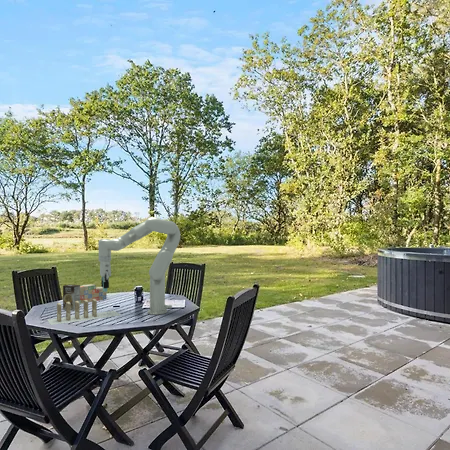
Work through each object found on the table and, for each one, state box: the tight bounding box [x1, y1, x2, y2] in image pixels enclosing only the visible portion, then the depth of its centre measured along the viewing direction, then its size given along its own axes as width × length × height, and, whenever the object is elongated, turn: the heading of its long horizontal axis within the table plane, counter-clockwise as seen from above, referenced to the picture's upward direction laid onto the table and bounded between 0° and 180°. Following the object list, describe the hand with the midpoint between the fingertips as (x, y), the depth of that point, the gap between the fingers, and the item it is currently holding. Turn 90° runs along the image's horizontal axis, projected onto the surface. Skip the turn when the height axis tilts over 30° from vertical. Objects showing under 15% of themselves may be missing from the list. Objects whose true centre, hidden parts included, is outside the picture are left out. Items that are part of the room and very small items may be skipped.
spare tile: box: [103, 276, 108, 292], centre depth 229 cm, size 2×5×10 cm, turn 32°
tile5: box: [65, 302, 72, 321], centre depth 214 cm, size 2×5×10 cm, turn 34°
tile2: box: [91, 299, 98, 317], centre depth 223 cm, size 2×5×10 cm, turn 34°
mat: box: [47, 310, 121, 326], centre depth 220 cm, size 40×14×1 cm, turn 124°
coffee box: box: [62, 284, 81, 311], centre depth 243 cm, size 9×6×16 cm
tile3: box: [83, 300, 89, 318], centre depth 220 cm, size 2×5×10 cm, turn 34°
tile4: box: [74, 301, 81, 319], centre depth 217 cm, size 2×5×10 cm, turn 34°
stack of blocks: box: [80, 283, 108, 305], centre depth 270 cm, size 21×6×12 cm, turn 140°
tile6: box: [56, 302, 62, 322], centre depth 212 cm, size 2×5×10 cm, turn 34°
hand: (105, 287), depth 229 cm, fingers closed on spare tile, 4 cm apart
